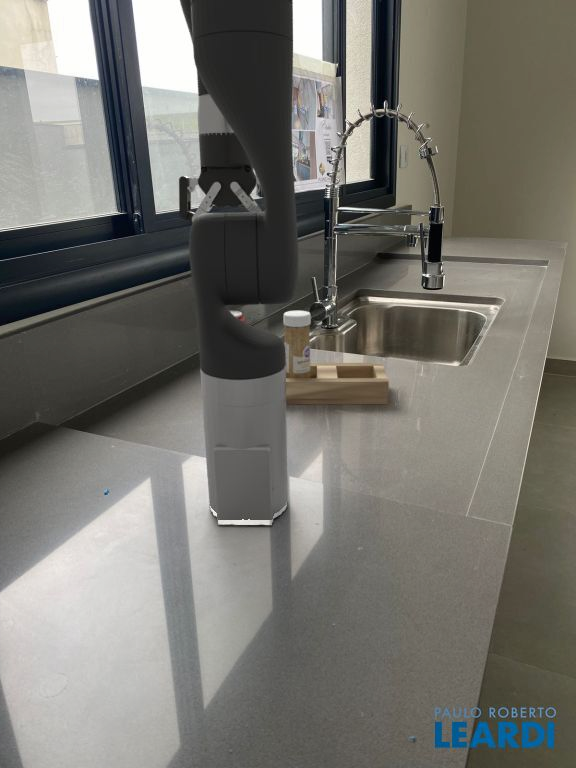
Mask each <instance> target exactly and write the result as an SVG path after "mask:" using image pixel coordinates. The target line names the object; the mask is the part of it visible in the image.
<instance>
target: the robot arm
mask: <svg viewBox="0 0 576 768" xmlns="http://www.w3.org/2000/svg"><path fill="white" fill-rule="evenodd" d="M293 2H294V1H293V0H179V3H180V6H181V11H182V14H183V17H184V20H185V22H186V26H187V29H188V32H189V35H190V40H191V43H192V48H193V52H192V53H193V61H194V65H195V68H196V78H197V79H196V80H197V93H198V95H197V96H198V105H197V126H198V129H197V130H198V143H199V146H198V147H199V161H200V163H199V165H200V172H199V173H200V175H199V176H198V177H190V176H188V175H184V176H183V175H181V176H180V177H179V179H178V203H179V204H178V207H179V208H178V209H179V212H178V213H179V218H180V219H181V220H186V221H188V222H190V223H191V225H190V230H189V236H188V237H189V238H188V245H189V246H188V247H189V248H188V250H189V251H188V254H189V265H190V274H191V282H192V289H193V297H194V298H193V299H194V303H195V313H196V314H195V315H196V324H197V325H196V326H197V337H198V338H197V341H198V352H199V368H200V369H199V370H200V371H199V372H200V384H201V400H202V401H201V402H202V403H201V404H202V415H203V429H204V444H205V445H204V446H205V458H206V459H205V460H206V461H205V462H206V473H207V488H208V500H209V501H208V502H209V503H210V504H209V507H210V506H211V508H212V509H213V510H214V511H215V512H216V513H217V518H216V520H217V519H218V520H242V519H244V520H248V519H250V520H272V519H273V516H274V514H275V513H277V512H279V511H280V510H281V509H282V508H283V507H284V506H285V505H286V503H287V501H288V502H289V493H288V492H289V489H288V487H289V486H288V484H289V483H288V439H287V437H288V436H287V434H288V432H287V425H288V424H287V423H288V422H287V404H286V352H285V345H284V342H285V341H283V339H282V338H281V337H279V336H278V335H276V334H275V333H272V332H270V331H267V330H264V329H262V328H259V327H256V326H253V325H250V324H248V323H247V322H246V323H244V322H243V321H241V320H239V319H238V318H236V317H235V316H234V315H233V314H232V313H231V312H230V311H231V310H229V308H228V306H239V305H240V306H245V305H246V306H247V305H248V306H249V305H253V306H255V305H257V306H258V305H281V304H287V303H290V301H291V300H293V298H294V296H295V294H296V291H297V287H298V280H299V263H300V262H299V258H300V257H299V239H298V222H297V210H296V209H297V208H296V190H295V175H294V160H293V159H294V158H293V157H294V156H293V83H294V82H293V80H294V79H293V76H294V75H293V74H294V73H293V72H294V17H293V16H294V12H293V11H294V9H293V8H294V3H293ZM257 185H259V187H260V188H261V191H262V194H263V198H264V203H265V209H264V210H262V209H261V208H260V206H259V205H258V203H257V202H256V201H255V199H254V198H253V197H252V196H251V194H252V193H253V191H254V190H255V188H256V186H257ZM197 186H198V187H199V189H201V191H202V192H203V193H204V195H205V196H204V198H203V199H202V201H201V202H200V204H199V206H198V208H197V209H196V211H195V212H193V211H192V193H194V192H195V191H196V187H197ZM243 205H244V207H245V209H246V210H247V211H248V212H247V211H246V212H245V211H243V212H242V211H240V212H237V211H234V212H231V211H230V212H210V211H211V210H212V208H213V206H215V207H216V208H224V207H227V206H229V207H232V208H238V207H241V206H243Z"/></svg>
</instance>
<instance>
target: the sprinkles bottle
mask: <svg viewBox="0 0 576 768" xmlns="http://www.w3.org/2000/svg"><path fill="white" fill-rule="evenodd" d="M311 317H312V316H311V312H309V311H306V310H289V311H286V312H284V313H283V319H282V320H283V322H282V323H283V326H284V341H283V342H284V345H285V352H286V378H310V363H311V345H310V343H311V342H310V341H311V340H310V338H311V337H310V336H311V335H310V334H311V333H310V329H311V328H310V327H311V324H312V322H311V320H312V319H311Z"/></svg>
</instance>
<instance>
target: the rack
mask: <svg viewBox="0 0 576 768" xmlns="http://www.w3.org/2000/svg"><path fill="white" fill-rule="evenodd" d="M385 370H386V369H385V367H384V364H383V363H382V362H310V378H286V405H388V404H389V403H388V401H389V386H390V385H389V383H390V382H389V378H388V375H387V373H386V371H385Z"/></svg>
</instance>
